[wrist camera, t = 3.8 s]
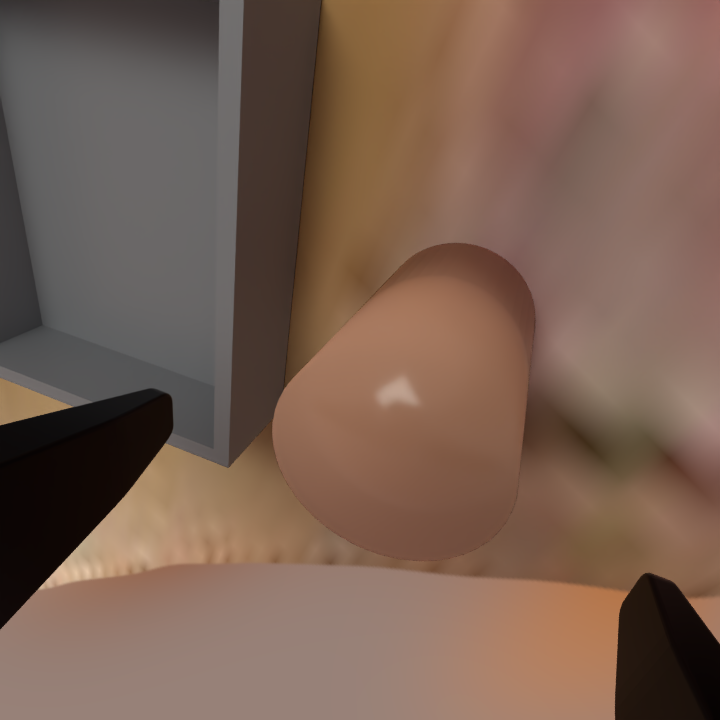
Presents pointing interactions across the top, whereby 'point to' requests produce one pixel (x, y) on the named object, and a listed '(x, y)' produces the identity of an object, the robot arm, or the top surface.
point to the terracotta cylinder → (416, 409)
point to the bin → (154, 203)
